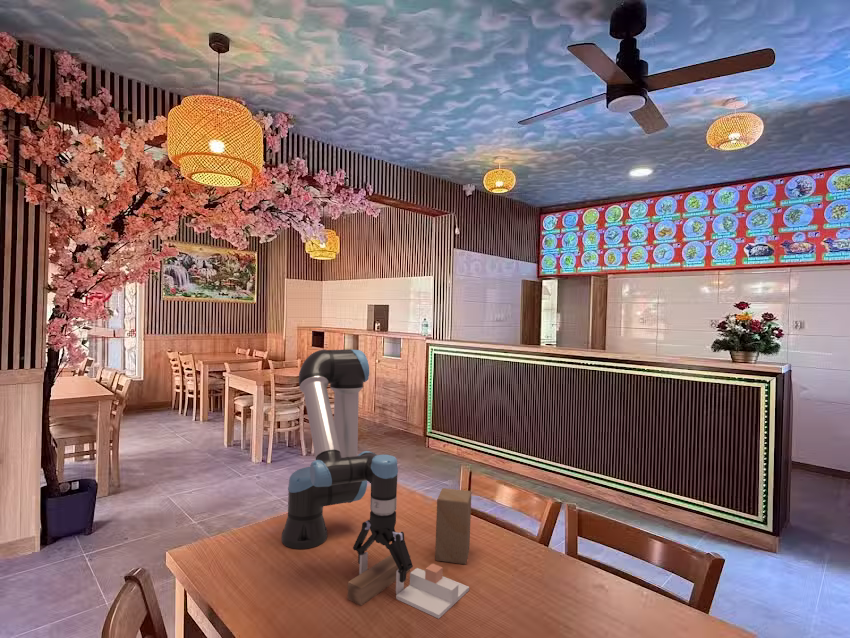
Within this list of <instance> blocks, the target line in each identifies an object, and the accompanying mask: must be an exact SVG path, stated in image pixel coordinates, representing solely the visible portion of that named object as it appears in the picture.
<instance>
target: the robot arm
mask: <svg viewBox="0 0 850 638" xmlns="http://www.w3.org/2000/svg"><path fill="white" fill-rule="evenodd" d="M369 377H370V365H369V360H368V358H367V355H366V354H365V353H364V352H363V351H362V350H360V349H351V348H350V349H348V348H347V349H319V350H316V351H314V352H313V353H311V354H309V355H308V356H307V357H306V359H305V360H304V361H303V363H302V365H301V367H300V369H299V373H298V387H299V390H300V392H302V393H303V396H304V401H305V407H306V413H307V417H308V423H309V424H308V425H309V427H310V428H309V430H310V435H311V440H312V447H313V450H314V456H315V460H313V461H312V462H311V463H310V466H306V467H302V468H299V469H297V470H295V471H293V473H291V474H290V476H289V479H288V486H287V491H288V492H287V493H288V496H287V497H288V498H287V518H286V522H285V525H284V528H283V530H282V532H281V543H282V544H283V545H284V546H285V547H287V548H290V549H295V550H296V549H298V550H305V549H310V548H315V547H317V546H320V545H321V544H323V543H325V542H326V541H327V538H328V529H327V525H326V521H325V518H324V515H323V514H324V513H323V512H324V511H323V509H324V507H329V506H335V505H340V504H346V503H348V504H350V503H353V502H358V501H360V500H362V499H363V497H364V496H365V494H366V492H367V487H368V483H369V484H370V512H369V519H367V520H365V521H364V522H362V523H361V529H360V532H359V534H358V536H357V538H356V540H355V542H354V544H353V547H352V549H353V551H356V552H357V554H358V556H357V557H358V559H357V563H358V565H359V570H358V575H360V574H361V573H363V572H364V571H366V570H368V564H369V563H368V561H369V559H368V558H369V553H368V552H367V551H368V549H369V548H370V547H371V546H372V545H373V543H374V542H375V543H377V544H380V545H382V546H385V548H386V549H387V550H388V551H389V553H390V555H392V557H393V559H394V561H395V563H396V565H397V567H398V570H397V571H396V581H395V594H396V595H397V594H399V593H400V592H401V591H402V590H404V589H405V581H407V573H406V571H408V570H409V569H410V570H411V569H413V567H414V565H413V562H412V559H411V555H410V553H409V551H408V550H409V549H408V548H407V544H406V541H405V540H406V539H405V532H404V531H400V532H396V529H395V528H396V523H397V511H396V510H397V505H398V504H397V502H398V499H397V497H398V496H397V492H398V475H399V474H398V473H399V467H398V459H397V457H395V456H394V455H390V454H376V453H375V452H372V451H369V450H364V451H361V452H360V453H358V451H359V450H358V448H359V447H358V444H359V442H358V441H359V439H358V438H359V401H360V400H359V392H360V391H361V390H362V389H363V388H364V383H366V382H367V381H368V380H369ZM329 384H330V385H329ZM328 386H329V388H330V389H331V390H332V391H333V392H334V403H333V405H334V406H333V407H334V408H333V412H332V406H331V402H330V396H329V394H328ZM369 531H370V533H371V535H369V537H368V538H367V536H368V534H369ZM366 538H367V540H366ZM409 555H410V556H409Z"/></svg>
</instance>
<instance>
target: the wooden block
mask: <svg viewBox="0 0 850 638" xmlns="http://www.w3.org/2000/svg"><path fill="white" fill-rule="evenodd" d="M471 510H472V491H471V490H464V489H454V488H445V487H442V488H441V490H440V493H439V494H438V497H437V500H436V519H435V520H436V523H435V526H436V527H435V547H434V548H435V554H434V559H435V561H437V562H444V563H452V564H460V565H466V564H467V561H468V559H469V558H468V557H469V552H470V545H471V544H470V543H471V542H470V541H471V516H472V515H471V514H472V511H471Z"/></svg>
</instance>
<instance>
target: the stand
mask: <svg viewBox="0 0 850 638" xmlns="http://www.w3.org/2000/svg"><path fill="white" fill-rule="evenodd" d="M443 571H444V568H443V567H442V566H440V565H438V564H436V563H433V562H432V563H431V564H430V565H428V566H427V567H426V568H425V570H424V569H423V568H422V569H421V568H418V567H416V568H415V569H413V570H412V571H410V572H409V585H408V586H406V587H404V590H402V591H401V592H400V593H399V594H396V595H395V599H396V600H398V601H399V602H402V603H403V604H406V605H408V606H411V607H413V608H415V609H417V610H419V611H421V612H423V613H426V614H428V615H430V616H431V617H434V618H436V619H440V618H442V616H443V615H444V614H446V612H448V611H449V610H450V609H452V608H453V606H454V605H455V604H457V602H459V600H461V598H462V597H464V596H465V595H466V594H467V593H468V592H469V591H470V586H468V585H465V584H463V583H461V582H458V581H455V580H454V579H451V578H449V577H446V576H443V573H444V572H443Z"/></svg>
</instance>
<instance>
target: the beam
mask: <svg viewBox="0 0 850 638" xmlns="http://www.w3.org/2000/svg"><path fill="white" fill-rule="evenodd" d="M409 556H410V557H411V555H410V554H409ZM397 570H398V567H397V565H396V563H395V561H394V559H393V557H392V555H391V554H389V556H386V557H385V558H383V559H382V560H380V561H379V562H377V563H375V564H374V565H372V566H370V567H369V568H367V570H366V571H364V572H363V573H361V574H360V575H359V574H358V575H356V576H355V577H353V578H352V579H351V580H349V581H348V582H347V600H349V601H351V602H353V603H355V604H356V605H358V606H360V607H362V606H363V605H365V604H366V603H367V602H368V601H370V600H372V599H373V598H374V597H376V596H377V595H378V594H380V593H381V592H383V591H384V590H385V589H387V588H388V587H389V586H391V585H393V584H394V583H396V571H397ZM410 572H411V569H409V570H408V571H406V574H408V573H410Z"/></svg>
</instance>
